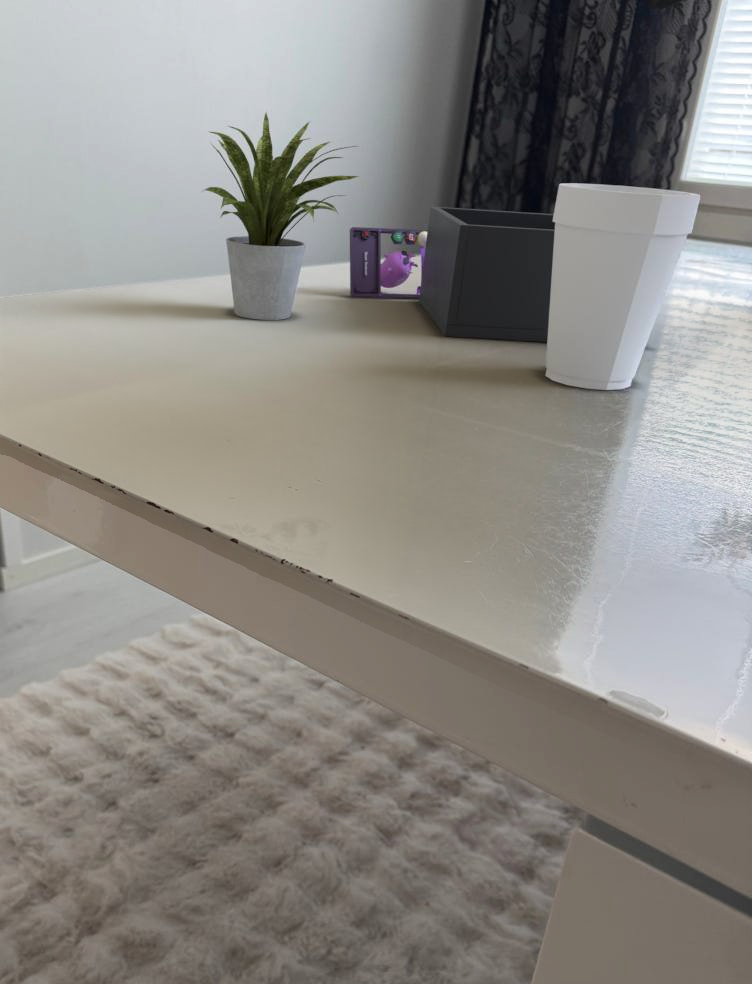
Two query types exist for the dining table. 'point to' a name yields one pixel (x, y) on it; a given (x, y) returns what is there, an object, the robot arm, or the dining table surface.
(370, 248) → the purple cardboard box
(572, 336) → the white flower pot
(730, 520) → the dining table surface
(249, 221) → the house plant
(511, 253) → the dark grey open box
